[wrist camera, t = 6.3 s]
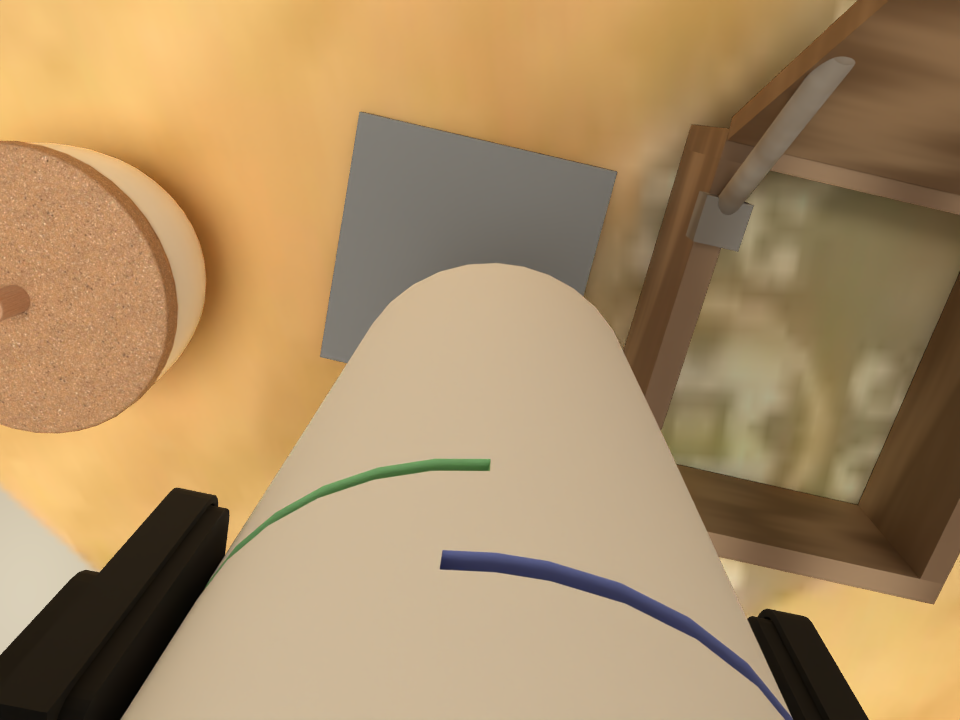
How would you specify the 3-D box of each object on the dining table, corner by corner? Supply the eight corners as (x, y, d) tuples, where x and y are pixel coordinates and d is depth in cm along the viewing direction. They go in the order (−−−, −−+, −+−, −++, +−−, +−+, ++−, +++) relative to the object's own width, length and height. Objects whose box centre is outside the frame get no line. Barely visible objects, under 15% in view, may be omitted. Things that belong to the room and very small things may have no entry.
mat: (616, 171, 32) (617, 172, 32) (551, 406, 36) (552, 409, 35) (361, 111, 32) (359, 111, 31) (322, 354, 35) (320, 356, 35)
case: (1083, 53, 30) (2245, -52, 10) (870, 527, 37) (1288, 1033, 17) (730, -32, 29) (1180, -322, 9) (583, 463, 36) (661, 900, 16)
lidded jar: (-38, 188, 34) (-237, 218, 25) (169, 93, 32) (35, 89, 23) (86, 398, 37) (-52, 492, 28) (282, 322, 35) (202, 396, 26)
